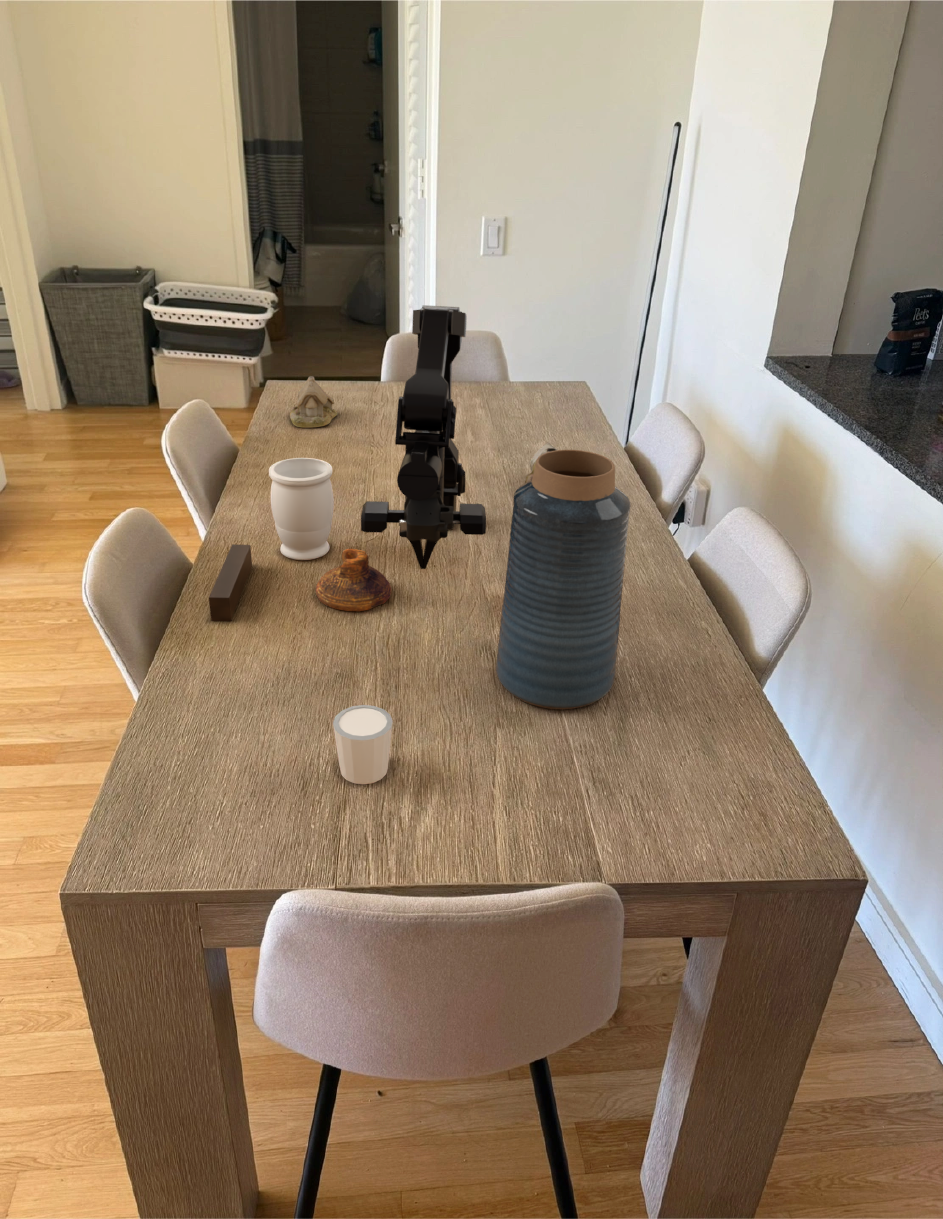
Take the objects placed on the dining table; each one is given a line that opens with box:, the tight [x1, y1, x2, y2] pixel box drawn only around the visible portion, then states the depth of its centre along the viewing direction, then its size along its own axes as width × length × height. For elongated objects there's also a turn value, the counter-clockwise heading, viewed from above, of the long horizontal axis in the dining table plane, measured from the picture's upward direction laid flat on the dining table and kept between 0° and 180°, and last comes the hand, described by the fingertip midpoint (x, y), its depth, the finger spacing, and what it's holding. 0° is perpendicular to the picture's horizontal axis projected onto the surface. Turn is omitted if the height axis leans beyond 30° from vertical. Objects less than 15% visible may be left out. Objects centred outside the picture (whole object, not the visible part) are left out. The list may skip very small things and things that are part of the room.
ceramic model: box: [289, 375, 338, 428], centre depth 221 cm, size 14×11×10 cm
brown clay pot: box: [315, 548, 393, 612], centre depth 148 cm, size 12×12×7 cm
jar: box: [268, 457, 335, 561], centre depth 159 cm, size 11×10×15 cm
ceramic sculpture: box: [524, 441, 559, 483], centre depth 189 cm, size 11×9×15 cm
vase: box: [495, 449, 631, 710], centre depth 123 cm, size 16×16×32 cm
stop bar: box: [208, 544, 253, 622], centre depth 148 cm, size 3×18×4 cm, turn 2°
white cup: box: [332, 704, 394, 785], centre depth 111 cm, size 7×7×7 cm
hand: (423, 567), depth 148 cm, fingers closed
